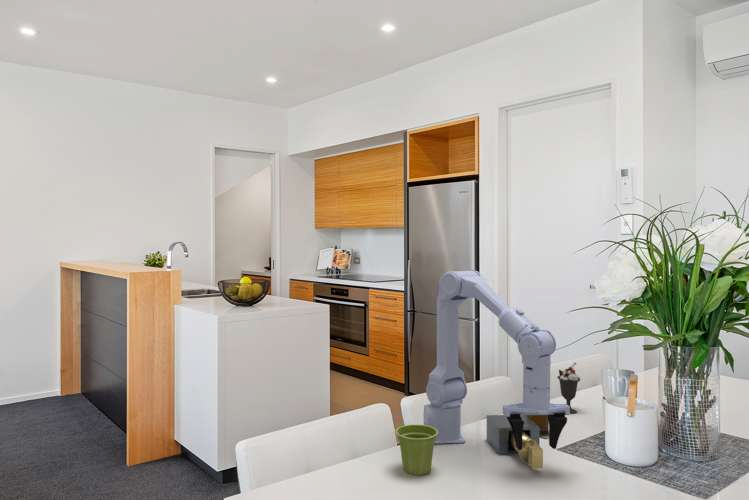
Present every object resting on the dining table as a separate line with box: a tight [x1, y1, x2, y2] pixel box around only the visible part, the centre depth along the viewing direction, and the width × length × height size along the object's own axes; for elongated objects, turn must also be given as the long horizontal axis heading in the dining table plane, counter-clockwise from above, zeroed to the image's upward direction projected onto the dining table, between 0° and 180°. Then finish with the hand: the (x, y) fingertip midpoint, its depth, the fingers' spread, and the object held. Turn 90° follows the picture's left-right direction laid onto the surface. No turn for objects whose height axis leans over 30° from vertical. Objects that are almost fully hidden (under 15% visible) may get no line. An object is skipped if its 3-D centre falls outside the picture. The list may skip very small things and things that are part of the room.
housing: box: [486, 414, 541, 456], centre depth 135 cm, size 10×10×6 cm
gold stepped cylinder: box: [508, 431, 544, 469], centre depth 126 cm, size 5×13×5 cm, turn 5°
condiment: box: [526, 415, 549, 439], centre depth 146 cm, size 7×8×12 cm
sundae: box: [556, 362, 581, 415], centre depth 165 cm, size 7×7×15 cm
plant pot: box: [395, 424, 438, 476], centre depth 121 cm, size 9×9×9 cm
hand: (535, 447), depth 120 cm, fingers open, 7 cm apart
